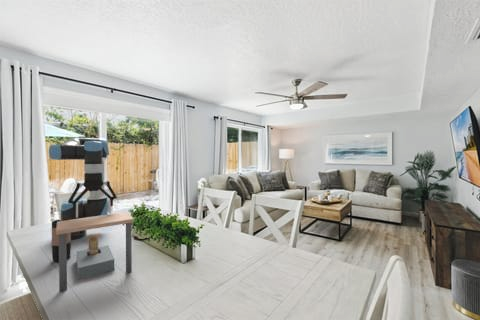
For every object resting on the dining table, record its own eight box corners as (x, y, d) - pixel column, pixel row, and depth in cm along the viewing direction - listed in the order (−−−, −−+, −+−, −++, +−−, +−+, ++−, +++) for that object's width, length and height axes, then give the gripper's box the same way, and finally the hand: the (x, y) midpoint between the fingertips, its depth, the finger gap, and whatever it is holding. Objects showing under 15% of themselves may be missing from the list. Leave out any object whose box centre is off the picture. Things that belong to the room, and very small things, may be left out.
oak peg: (88, 261, 113) (88, 234, 113) (98, 259, 116) (97, 232, 115) (89, 265, 110) (88, 236, 110) (98, 262, 113) (98, 235, 112)
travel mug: (60, 263, 111) (59, 223, 110) (47, 262, 112) (47, 222, 112) (74, 256, 118) (74, 219, 118) (62, 255, 120) (62, 218, 119)
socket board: (76, 261, 114) (76, 251, 113) (108, 254, 122) (108, 245, 122) (78, 279, 98) (77, 268, 98) (114, 269, 106) (114, 259, 106)
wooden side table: (57, 276, 99) (57, 221, 99) (127, 259, 116) (127, 211, 116) (56, 293, 88) (55, 230, 87) (133, 271, 105) (133, 218, 104)
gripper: (61, 174, 101) (61, 220, 102) (122, 171, 116) (122, 212, 117) (61, 172, 107) (62, 216, 108) (120, 170, 122) (120, 209, 123)
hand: (93, 214), depth 113 cm, fingers open, 13 cm apart
